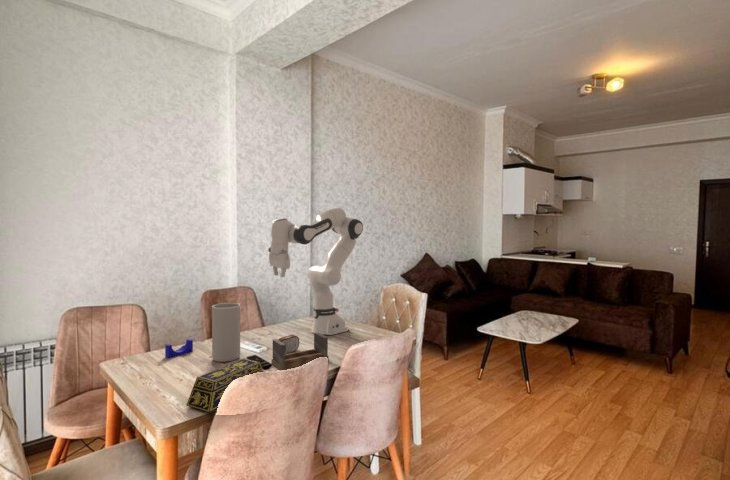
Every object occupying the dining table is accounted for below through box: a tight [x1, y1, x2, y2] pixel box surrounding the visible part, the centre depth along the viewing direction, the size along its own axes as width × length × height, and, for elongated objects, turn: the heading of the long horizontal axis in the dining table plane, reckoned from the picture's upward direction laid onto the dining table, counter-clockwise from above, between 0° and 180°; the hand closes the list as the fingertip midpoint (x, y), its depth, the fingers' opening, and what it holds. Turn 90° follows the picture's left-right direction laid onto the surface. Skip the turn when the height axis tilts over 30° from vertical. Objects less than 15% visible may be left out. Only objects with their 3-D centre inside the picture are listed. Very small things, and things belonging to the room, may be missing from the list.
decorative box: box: [185, 357, 264, 413], centre depth 146 cm, size 11×30×9 cm, turn 153°
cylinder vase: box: [211, 302, 241, 363], centre depth 183 cm, size 12×12×25 cm
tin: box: [277, 334, 300, 354], centre depth 192 cm, size 15×3×8 cm, turn 145°
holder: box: [271, 332, 330, 371], centre depth 179 cm, size 24×10×11 cm, turn 124°
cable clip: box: [164, 338, 194, 359], centre depth 189 cm, size 12×4×6 cm, turn 143°
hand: (279, 276), depth 202 cm, fingers open, 8 cm apart
